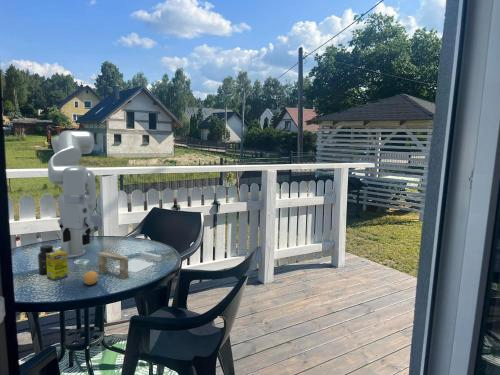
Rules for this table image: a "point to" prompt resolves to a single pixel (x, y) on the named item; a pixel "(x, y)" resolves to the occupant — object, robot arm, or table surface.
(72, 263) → the table surface
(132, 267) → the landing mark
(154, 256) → the wall
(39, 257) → the supplement bottle
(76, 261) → the table surface
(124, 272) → the bridge
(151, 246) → the table surface
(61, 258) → the supplement box
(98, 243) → the table surface
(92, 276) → the ball
